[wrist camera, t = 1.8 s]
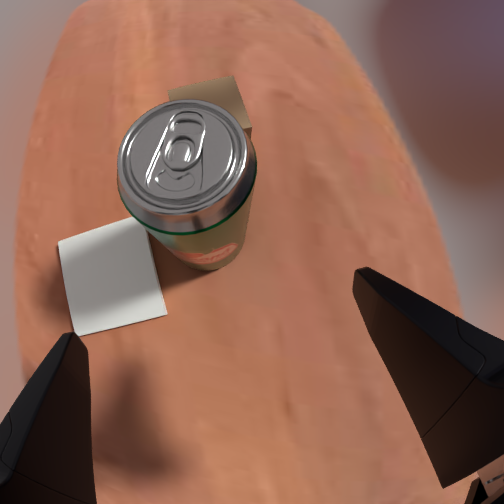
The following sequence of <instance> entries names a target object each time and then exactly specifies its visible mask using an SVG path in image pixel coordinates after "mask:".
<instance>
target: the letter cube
mask: <svg viewBox="0 0 504 504" xmlns="http://www.w3.org/2000/svg"><path fill="white" fill-rule="evenodd" d="M168 95H169V100H170V101H174V100H180V99H198V100H204V101H208V102H211V103H214V104H216V105H218V106H220V107H222V108H223V109H225V110H227V111H228V112H229V113H230V114H231V115H232V116H234V118H235V119H236V120H237V121H238V123H239V124H240V126H241V127H242V128H243V129H244V131H245V132H246V133H247V134H248V136H249V138H250V140H251V131H252V125H251V123H250V120H249V117H248V114H247V111H246V109H245V106H244V103H243V100H242V98H241V95H240V92H239V89H238V87H237V84H236V81H235V79H234V76H228V77H223V78H218V79H213V80H209V81H204V82H200V83H195V84H191V85H187V86H183V87H179V88H175V89H172V90H168ZM170 101H169V102H170Z"/></svg>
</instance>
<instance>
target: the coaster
mask: <svg viewBox="0 0 504 504" xmlns="http://www.w3.org/2000/svg"><path fill="white" fill-rule="evenodd" d="M58 245H59V253H60V260H61V266H62V272H63V278H64V284H65V289H66V295H67V300H68V304H69V309H70V314H71V318H72V322H73V326H74V331H75V333H76V334H77V335H78V336H82V335H86V334H90V333H95V332H99V331H103V330H107V329H112V328H116V327H120V326H124V325H128V324H132V323H136V322H140V321H144V320H148V319H152V318H156V317H160V316H164V315H167V310H166V306H165V302H164V299H163V295H162V291H161V287H160V283H159V279H158V275H157V271H156V267H155V262H154V258H153V254H152V249H151V245H150V240H149V236H148V231H147V230H146V229H145V228H144V227H143V226H142V225H141V224H140V223H139V222H138V221H137V220H136V219H135V218H134V217H130V218H127V219H124V220H121V221H118V222H115V223H111V224H108V225H105V226H102V227H99V228H96V229H93V230H90V231H87V232H84V233H81V234H79V235H76V236H73V237H70V238H67V239H64V240H61V241H59V242H58Z"/></svg>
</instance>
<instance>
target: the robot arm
mask: <svg viewBox="0 0 504 504" xmlns="http://www.w3.org/2000/svg"><path fill="white" fill-rule="evenodd" d="M353 295H354V298H355V300H356V303H357V305H358V308H359V310H360V312H361V315H362V317H363V320H364V322H365V325H366V327H367V330H368V332H369V335H370V337H371V339H372V341H373V342H374V344H375V346H376V348H377V350H378V352H379V354H380V356H381V358H382V360H383V362H384V364H385V365H386V367H387V369H388V371H389V373H390V375H391V377H392V379H393V381H394V383H395V385H396V387H397V389H398V391H399V393H400V395H401V397H402V399H403V401H404V404H405V406H406V408H407V410H408V412H409V414H410V416H411V418H412V420H413V422H414V425H415V427H416V429H417V431H418V433H419V435H420V438H422V439H421V440H422V442H423V444H424V447H425V449H426V451H427V453H428V456H429V458H430V460H431V463H432V465H433V467H434V470H435V472H436V474H437V477H438V479H439V481H440V484H441V486H442V488H443V489H444V488H446V487H448V486H450V485H452V484H454V483H456V482H458V481H460V480H461V479H463V478H465V477H467V476H469V475H471V474H473V473H474V472H476V471H477V473H478V475H479V477H478V478H477V479H475V480H474V481H472V483H471V486H470V489H469V492H468V495H467V498H466V501H465V503H464V504H504V341H503V340H501V339H499V338H497V337H495V336H493V335H491V334H489V333H487V332H485V331H483V330H481V329H479V328H477V327H475V326H473V325H472V324H470V323H468V322H466V321H464V320H463V319H461V318H459V317H458V316H456V317H455V315H454V314H452V313H450V312H449V311H447V310H445V309H444V308H442V307H440V306H438V305H437V304H435V303H433V302H431V301H429V300H428V299H426V298H424V297H422V296H421V295H419V294H417V293H415V292H413V291H412V290H410V289H408V288H406V287H404V286H403V285H401V284H399V283H397V282H395V281H393V280H392V279H390V278H388V277H386V276H384V275H382V274H380V273H379V272H377V271H375V270H373V269H371V268H369V267H363V268H359V269H357V270H355V273H354V280H353ZM0 504H97V501H96V493H95V484H94V473H93V459H92V441H91V389H90V376H89V358H88V350H87V348H86V346H85V345H84V343H83V342H82V341H81V339H80V338H79V337H78V335H77V334H76V333H75V332H68V333H64V334H62V336H61V337H60V338H59V340H58V341H57V342H56V344H55V345H54V346H53V348H52V349H51V350H50V352H49V353H48V354H47V356H46V357H45V358H44V360H43V361H42V363H41V364H40V365H39V367H38V368H37V370H36V371H35V372H34V374H33V375H32V377H31V378H30V380H29V381H28V383H27V384H26V386H25V387H24V389H23V390H22V391H21V393H20V395H19V396H18V398H17V399H16V400H15V402H14V404H13V405H12V407H11V408H10V410H9V412H8V413H7V415H6V416H5V418H4V419H3V421H2V422H1V424H0Z"/></svg>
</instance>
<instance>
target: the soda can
mask: <svg viewBox="0 0 504 504" xmlns="http://www.w3.org/2000/svg"><path fill="white" fill-rule="evenodd" d="M117 167H118V169H117V185H118V191H119V194H120V197H121V200H122V202H123V204H124V205H125V207H126V209H127V210H128V211H129V213H130V214H131V215H132V216H133V217H134V218H135V219H136V220H137V221H138V222H139V223H140V224H141V225H142V226H143V227H144V228H145V229H146V230H148V231H149V232H150V233H151V234H152V235H153V236H154V237H155V238H156V239H157V240H158V241H160V242H161V243H162V244H163V245H164V246H165V247H166V248H167V249H168V250H169V251H171V252H172V253H173V254H174V255H175V256H176V257H177V258H178V259H179V260H181V261H182V262H183V263H184V264H186V265H188V266H189V267H192V268H194V269H198V270H206V271H208V270H215V269H219V268H221V267H224V266H226V265H227V264H229V263H230V262H231V261H232V260H234V259H235V257H236V256H237V255H238V254H239V252H240V250H241V249H242V246H243V243H244V239H245V234H246V229H247V223H248V218H249V212H250V207H251V201H252V196H253V191H254V185H255V180H256V175H257V158H256V152H255V149H254V146H253V143H252V141H251V140H250V138H249V136H248V134H247V133H246V132H245V131H244V129H243V128H242V127H241V126H240V124H239V123H238V121H237V120H236V119H235V118H234V116H232V115H231V114H230V113H229V112H228V111H227V110H225V109H223V108H222V107H220V106H218V105H216V104H214V103H211V102H208V101H204V100H198V99H180V100H174V101H170V102H166V103H163V104H161V105H159V106H156V107H154V108H153V109H151V110H149V111H147V112H146V113H145V114H143V115H142V116H141V117H140V118H139V119H138V120H136V121H135V122H134V123H133V125H132V126H131V127H130V129H129V130H128V131H127V133H126V135H125V136H124V138H123V140H122V143H121V145H120V148H119V153H118V161H117Z"/></svg>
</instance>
